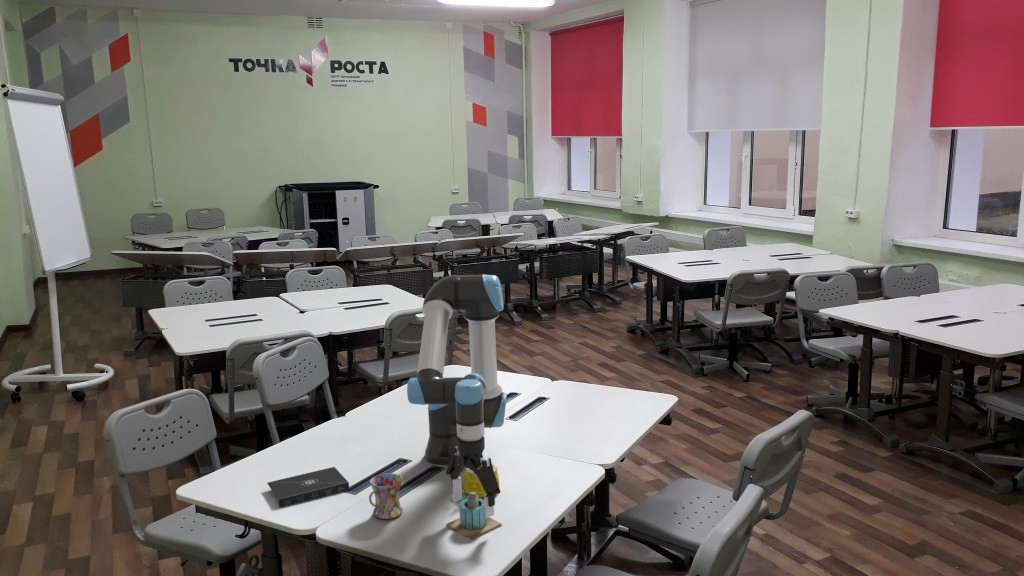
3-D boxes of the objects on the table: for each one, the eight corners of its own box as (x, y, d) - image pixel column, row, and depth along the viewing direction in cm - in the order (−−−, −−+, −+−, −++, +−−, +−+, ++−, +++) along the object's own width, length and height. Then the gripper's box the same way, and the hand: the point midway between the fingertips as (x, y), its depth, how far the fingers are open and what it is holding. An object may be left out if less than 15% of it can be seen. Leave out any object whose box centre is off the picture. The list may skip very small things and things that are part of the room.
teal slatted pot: (454, 523, 214) (454, 503, 213) (475, 514, 219) (474, 495, 218) (472, 533, 209) (471, 512, 208) (492, 523, 214) (492, 503, 213)
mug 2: (496, 482, 241) (495, 446, 239) (502, 498, 231) (501, 460, 228) (456, 486, 239) (454, 450, 237) (460, 502, 229) (458, 464, 226)
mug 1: (386, 504, 228) (384, 470, 226) (410, 511, 224) (408, 476, 222) (358, 521, 218) (356, 486, 216) (383, 528, 214) (381, 493, 212)
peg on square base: (446, 525, 214) (444, 493, 212) (475, 512, 222) (474, 481, 220) (471, 539, 206) (470, 506, 205) (501, 525, 214) (500, 493, 212)
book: (279, 509, 228) (278, 500, 227) (267, 491, 240) (267, 482, 240) (349, 491, 238) (349, 482, 238) (335, 475, 251) (334, 466, 251)
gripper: (431, 428, 216) (435, 497, 220) (491, 453, 198) (493, 528, 202) (452, 421, 221) (455, 489, 225) (512, 444, 203) (513, 518, 207)
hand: (473, 507), depth 214 cm, fingers open, 13 cm apart
